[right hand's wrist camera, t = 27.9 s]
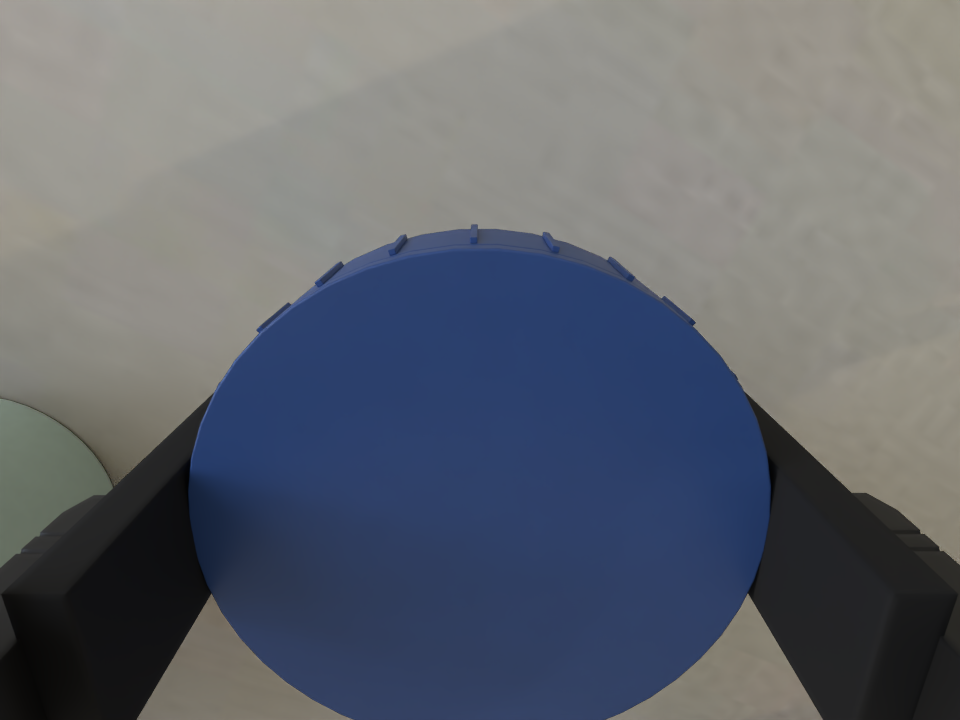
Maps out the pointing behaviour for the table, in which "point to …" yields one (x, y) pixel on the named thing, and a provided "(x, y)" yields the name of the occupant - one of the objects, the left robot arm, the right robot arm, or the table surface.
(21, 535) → the jar
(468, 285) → the lid
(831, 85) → the table surface
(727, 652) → the table surface
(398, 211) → the table surface
